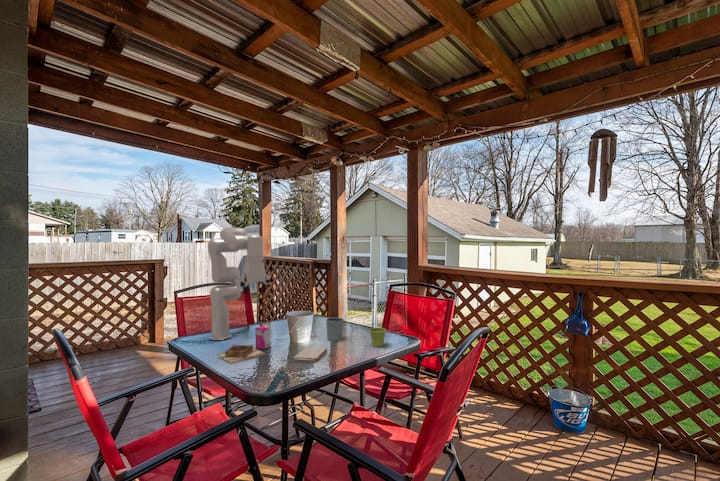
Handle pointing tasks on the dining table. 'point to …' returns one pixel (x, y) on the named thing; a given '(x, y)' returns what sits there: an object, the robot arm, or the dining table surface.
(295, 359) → the washcloth
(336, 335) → the grey green embossed cup
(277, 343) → the dining table surface
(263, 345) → the supplement box
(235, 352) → the collar holder
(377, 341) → the plant pot
